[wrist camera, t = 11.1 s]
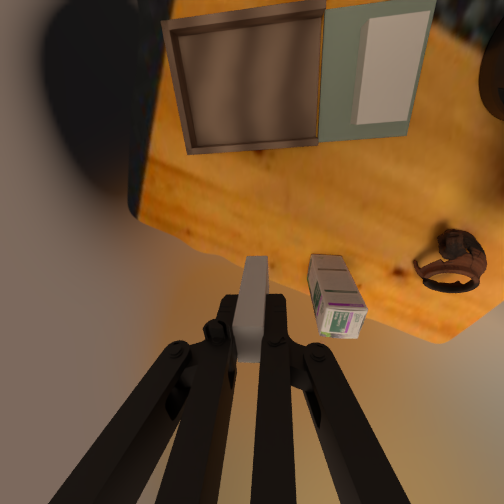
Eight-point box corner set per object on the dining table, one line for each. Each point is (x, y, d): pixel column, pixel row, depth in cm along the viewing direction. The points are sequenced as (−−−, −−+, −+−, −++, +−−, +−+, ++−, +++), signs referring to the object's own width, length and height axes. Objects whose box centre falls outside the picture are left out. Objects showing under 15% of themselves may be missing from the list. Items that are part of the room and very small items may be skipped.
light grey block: (415, 20, 27) (430, 10, 25) (396, 120, 32) (406, 120, 29) (360, 27, 28) (369, 18, 25) (350, 123, 33) (356, 124, 30)
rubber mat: (435, -4, 26) (437, -6, 26) (404, 135, 33) (406, 135, 33) (324, 11, 28) (325, 9, 27) (317, 142, 35) (318, 142, 34)
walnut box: (320, 11, 28) (326, -3, 24) (314, 142, 35) (318, 145, 31) (173, 32, 30) (160, 21, 26) (195, 151, 37) (187, 155, 33)
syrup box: (310, 253, 44) (324, 308, 32) (342, 254, 44) (369, 311, 31) (306, 278, 47) (317, 337, 34) (336, 279, 47) (359, 340, 34)
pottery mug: (481, 255, 42) (489, 297, 38) (417, 259, 48) (417, 295, 44) (483, 207, 35) (492, 252, 31) (407, 218, 41) (406, 257, 37)
